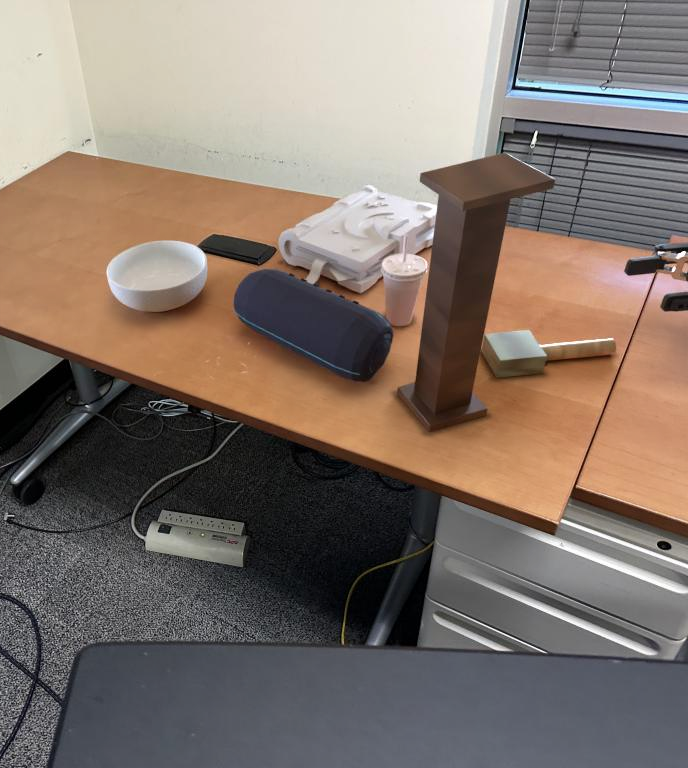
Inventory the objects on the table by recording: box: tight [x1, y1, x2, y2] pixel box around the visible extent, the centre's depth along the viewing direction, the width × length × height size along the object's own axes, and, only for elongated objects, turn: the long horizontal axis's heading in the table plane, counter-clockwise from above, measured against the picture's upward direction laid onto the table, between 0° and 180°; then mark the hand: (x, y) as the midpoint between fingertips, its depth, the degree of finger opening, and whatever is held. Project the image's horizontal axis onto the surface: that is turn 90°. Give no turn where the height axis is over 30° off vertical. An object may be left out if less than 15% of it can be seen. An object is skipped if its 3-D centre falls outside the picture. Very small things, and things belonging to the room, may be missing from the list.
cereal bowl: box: [106, 239, 208, 313], centre depth 115 cm, size 17×17×7 cm
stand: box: [396, 152, 556, 433], centre depth 80 cm, size 10×8×31 cm
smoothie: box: [381, 234, 428, 327], centre depth 100 cm, size 6×6×14 cm
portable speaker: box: [232, 268, 394, 383], centre depth 98 cm, size 25×10×10 cm, turn 40°
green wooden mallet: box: [480, 329, 617, 379], centre depth 93 cm, size 16×6×3 cm, turn 90°
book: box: [278, 184, 437, 294], centre depth 118 cm, size 19×28×8 cm
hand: (644, 284), depth 86 cm, fingers open, 8 cm apart
